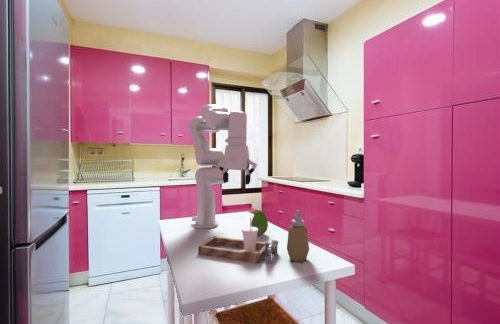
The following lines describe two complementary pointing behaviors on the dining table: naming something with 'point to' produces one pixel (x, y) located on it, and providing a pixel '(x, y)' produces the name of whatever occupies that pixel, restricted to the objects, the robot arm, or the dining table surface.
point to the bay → (232, 254)
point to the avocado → (260, 222)
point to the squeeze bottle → (297, 239)
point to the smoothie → (250, 238)
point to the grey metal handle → (270, 250)
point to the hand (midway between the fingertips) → (236, 183)
